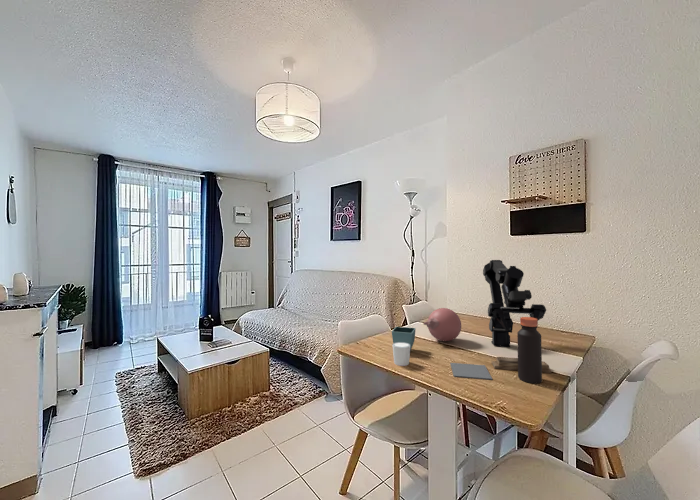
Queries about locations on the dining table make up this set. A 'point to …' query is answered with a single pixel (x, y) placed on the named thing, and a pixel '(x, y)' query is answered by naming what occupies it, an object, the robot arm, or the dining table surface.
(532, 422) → the dining table surface
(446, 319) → the pink onion-shaped ball
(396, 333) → the flower pot
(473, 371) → the grey mat
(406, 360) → the white cylinder
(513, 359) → the offcut stack
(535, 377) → the dark water bottle
